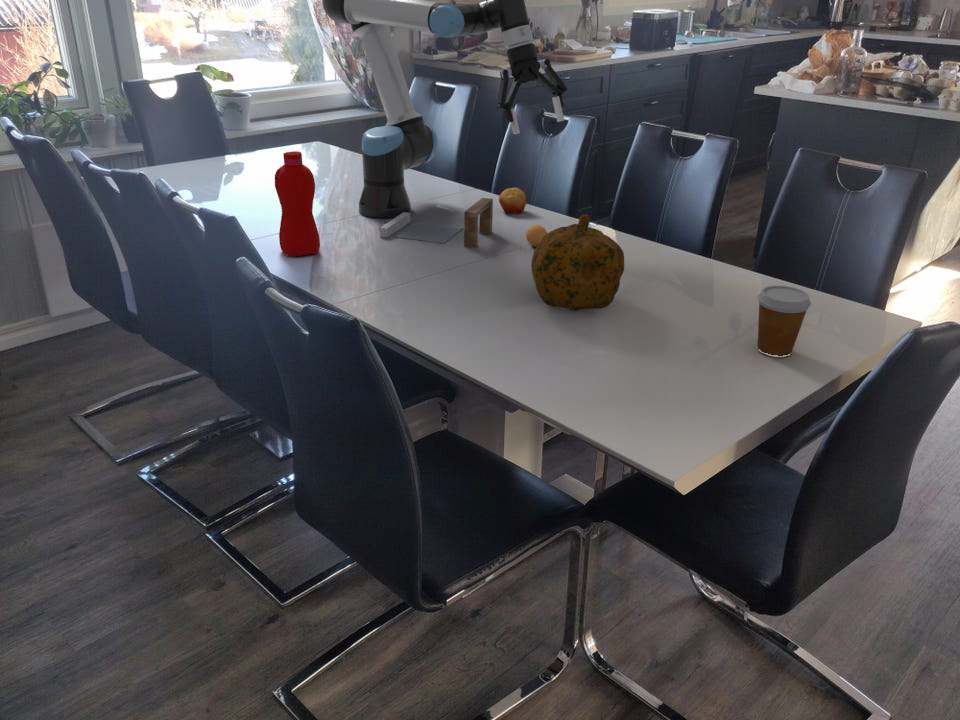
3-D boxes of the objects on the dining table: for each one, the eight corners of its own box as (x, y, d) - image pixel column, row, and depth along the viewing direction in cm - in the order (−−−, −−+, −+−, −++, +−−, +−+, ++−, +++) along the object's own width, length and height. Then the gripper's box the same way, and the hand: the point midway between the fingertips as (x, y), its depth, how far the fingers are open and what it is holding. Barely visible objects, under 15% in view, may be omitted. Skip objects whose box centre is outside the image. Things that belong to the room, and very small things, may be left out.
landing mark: (395, 237, 221) (395, 236, 221) (415, 223, 233) (415, 222, 233) (444, 243, 217) (444, 242, 217) (462, 228, 229) (462, 228, 229)
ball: (523, 247, 215) (524, 227, 213) (529, 241, 220) (529, 221, 217) (544, 250, 214) (545, 229, 211) (549, 244, 218) (550, 223, 216)
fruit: (526, 202, 249) (527, 183, 243) (525, 222, 245) (525, 203, 238) (500, 201, 250) (499, 182, 243) (498, 220, 246) (497, 201, 239)
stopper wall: (380, 236, 221) (379, 227, 220) (403, 220, 235) (403, 212, 234) (386, 237, 221) (386, 228, 220) (410, 221, 234) (410, 212, 233)
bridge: (464, 246, 215) (464, 211, 211) (481, 230, 228) (482, 197, 224) (474, 247, 215) (475, 212, 211) (492, 231, 227) (492, 198, 223)
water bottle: (311, 242, 216) (304, 145, 205) (323, 255, 207) (316, 154, 196) (276, 246, 212) (267, 148, 201) (286, 259, 204) (277, 157, 193)
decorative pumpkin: (505, 294, 183) (517, 205, 175) (575, 283, 195) (589, 199, 187) (565, 328, 169) (581, 233, 160) (636, 314, 181) (655, 225, 172)
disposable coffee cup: (741, 341, 165) (751, 284, 159) (787, 340, 165) (798, 284, 160) (759, 362, 156) (770, 303, 151) (808, 361, 157) (821, 302, 152)
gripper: (482, 53, 209) (503, 138, 215) (567, 32, 217) (585, 114, 223) (471, 58, 216) (492, 140, 222) (554, 38, 224) (572, 117, 229)
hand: (539, 127), depth 222 cm, fingers open, 13 cm apart
